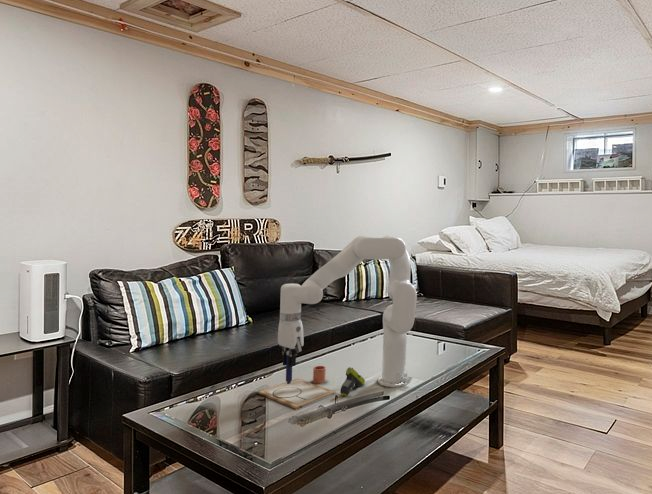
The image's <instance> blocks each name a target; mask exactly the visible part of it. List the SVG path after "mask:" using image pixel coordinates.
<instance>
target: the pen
mask: <svg viewBox="0 0 652 494" xmlns="http://www.w3.org/2000/svg"><path fill="white" fill-rule="evenodd" d="M286 354H287V355H286V365H285V382H287V384H290V383H291V381H293V366H292V367H288V356H289V351H287V353H286Z"/></svg>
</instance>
